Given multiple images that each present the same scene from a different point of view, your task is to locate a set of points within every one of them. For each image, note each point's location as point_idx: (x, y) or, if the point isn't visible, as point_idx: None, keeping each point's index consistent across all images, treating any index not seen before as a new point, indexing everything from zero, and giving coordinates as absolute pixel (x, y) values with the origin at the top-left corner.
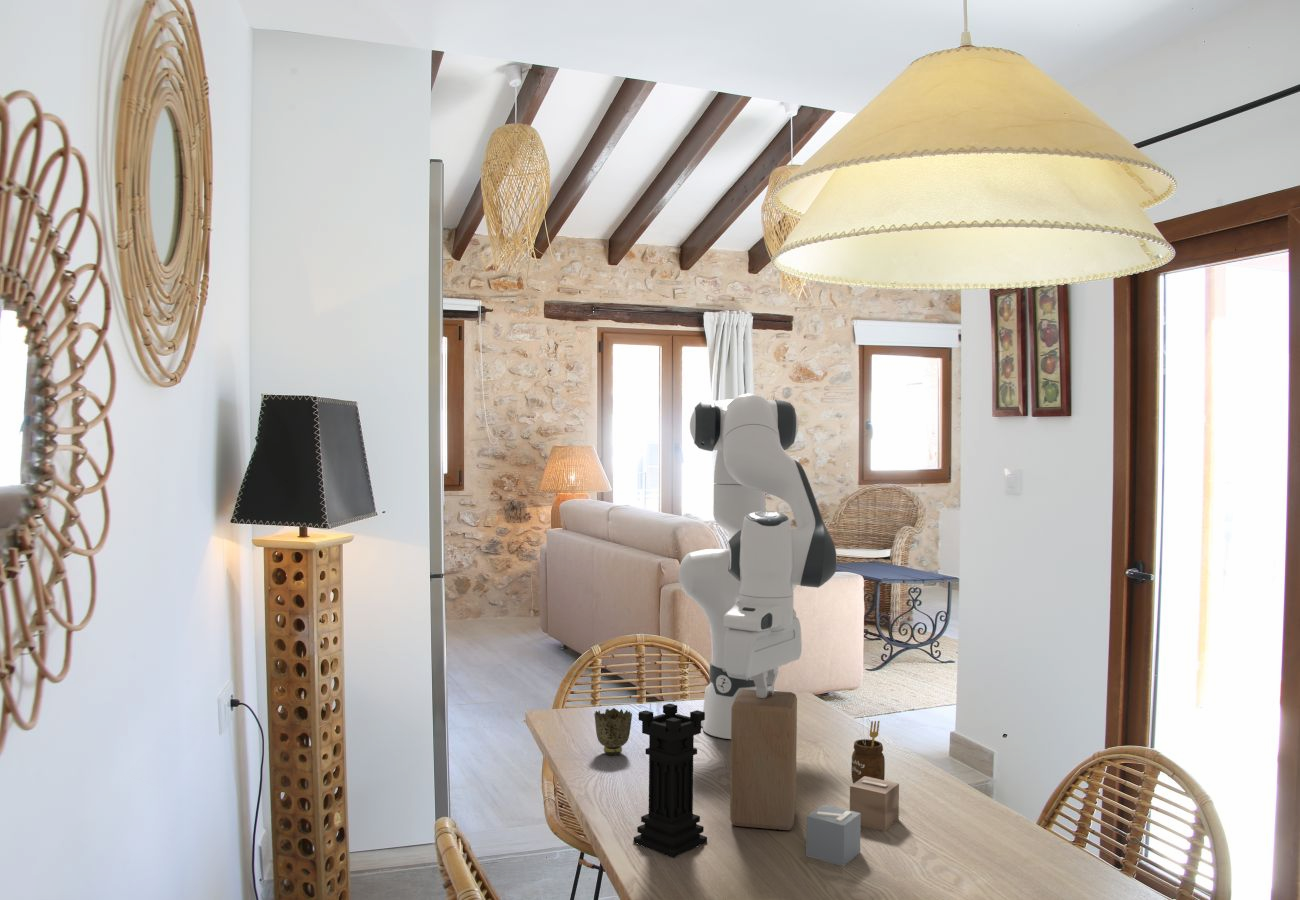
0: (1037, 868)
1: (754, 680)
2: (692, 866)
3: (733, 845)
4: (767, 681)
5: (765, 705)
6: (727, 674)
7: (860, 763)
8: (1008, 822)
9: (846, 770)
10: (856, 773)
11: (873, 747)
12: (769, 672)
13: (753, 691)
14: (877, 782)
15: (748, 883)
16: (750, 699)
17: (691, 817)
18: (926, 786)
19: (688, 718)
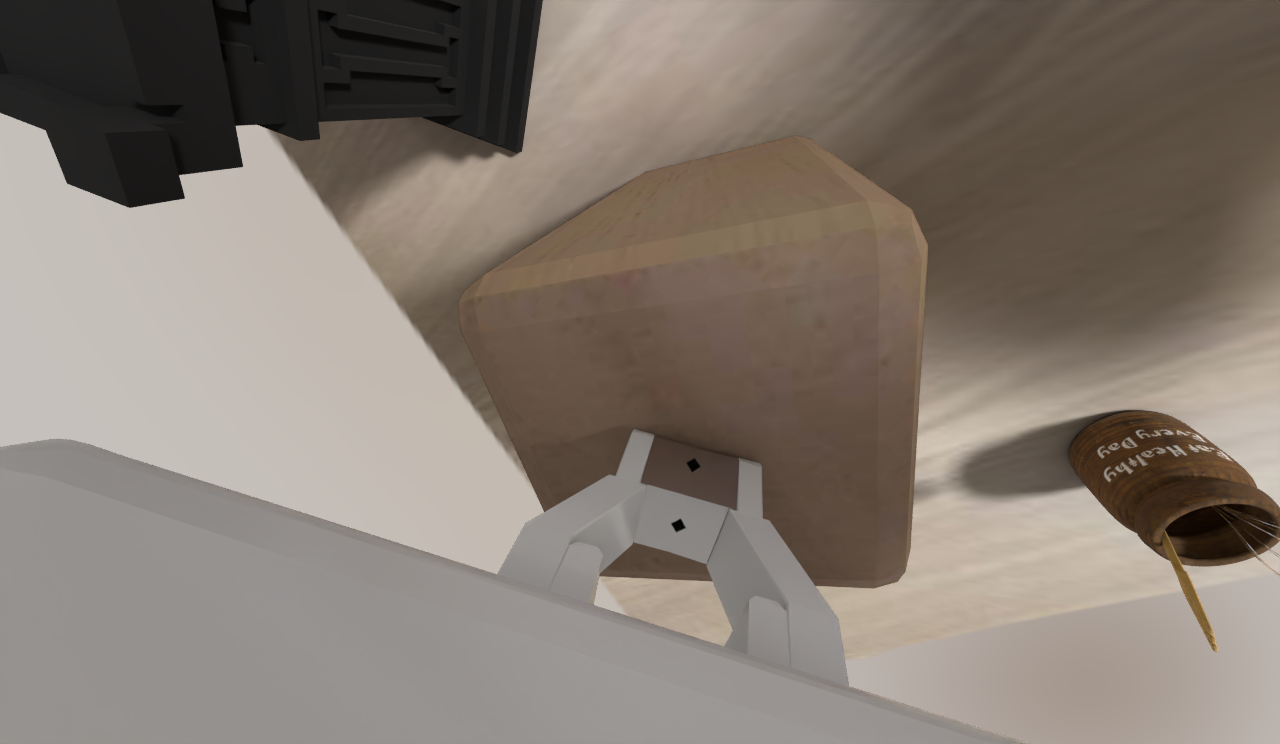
0: (692, 628)
1: (558, 510)
2: (399, 171)
3: (540, 220)
4: (726, 555)
5: (532, 476)
6: (15, 445)
7: (1118, 473)
8: (869, 634)
9: (1262, 386)
10: (1108, 441)
11: (1152, 545)
12: (728, 643)
13: (815, 373)
14: None
15: (414, 299)
16: (573, 395)
17: (454, 115)
18: (1084, 554)
19: (113, 77)
